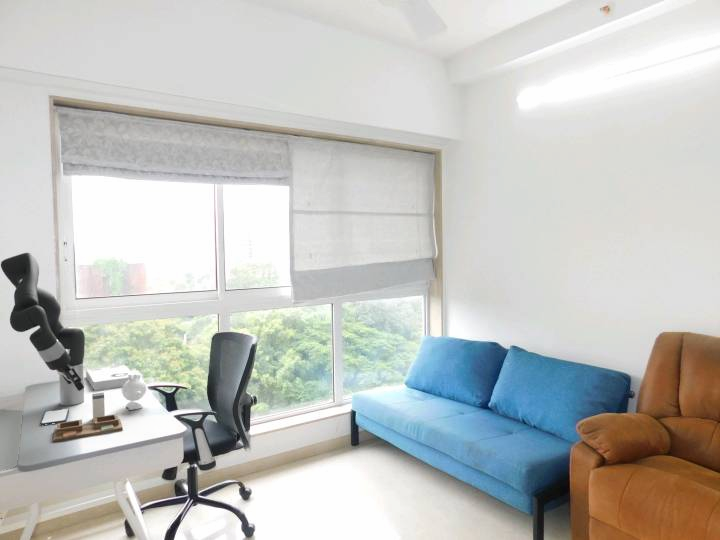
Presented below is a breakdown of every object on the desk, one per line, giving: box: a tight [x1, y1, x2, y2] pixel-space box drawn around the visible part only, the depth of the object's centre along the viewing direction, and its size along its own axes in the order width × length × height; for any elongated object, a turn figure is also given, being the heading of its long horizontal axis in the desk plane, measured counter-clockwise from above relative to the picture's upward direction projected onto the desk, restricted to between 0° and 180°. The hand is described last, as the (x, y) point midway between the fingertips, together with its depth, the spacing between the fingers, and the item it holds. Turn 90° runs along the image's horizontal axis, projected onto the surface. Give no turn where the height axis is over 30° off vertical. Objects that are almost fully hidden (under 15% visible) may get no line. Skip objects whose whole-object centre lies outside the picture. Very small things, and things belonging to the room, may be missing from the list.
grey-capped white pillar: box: [91, 392, 106, 422], centre depth 195 cm, size 4×4×10 cm
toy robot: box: [120, 373, 147, 411], centre depth 210 cm, size 15×10×15 cm, turn 40°
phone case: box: [39, 408, 70, 426], centre depth 197 cm, size 9×2×16 cm
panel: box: [52, 413, 123, 443], centre depth 182 cm, size 12×22×3 cm, turn 121°
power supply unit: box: [85, 364, 134, 392], centre depth 255 cm, size 19×33×5 cm, turn 35°
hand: (76, 385), depth 186 cm, fingers open, 8 cm apart
